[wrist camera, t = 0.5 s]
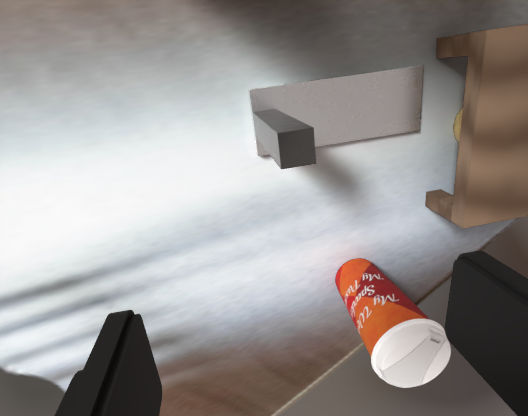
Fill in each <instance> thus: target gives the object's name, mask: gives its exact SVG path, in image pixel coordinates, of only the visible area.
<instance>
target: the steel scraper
mask: <svg viewBox="0 0 528 416" xmlns="http://www.w3.org/2000/svg"><path fill="white" fill-rule="evenodd" d="M423 72H424V65H422V66H412V67H405V68H398V69H391V70H384V71H377V72H370V73H362V74H355V75H348V76H341V77H334V78H327V79H320V80H312V81H305V82H298V83H291V84H284V85H277V86H270V87H262V88H255V89H248V92H249V99H250V106H251V114H252V121H253V129H254V136H255V144H256V151H257V155H258V156H262V155H268V154H270V155H271V157H272V158H273V159H274V161H275V162H276V163H277V165H278V166H279V167H280V168H281V169H286V168H292V167H298V166H304V165H310V164H316V155H315V147H318V146H324V145H331V144H337V143H343V142H349V141H356V140H362V139H368V138H374V137H381V136H387V135H393V134H399V133H406V132H412V131H418V130H420V120H421V104H422V88H423Z"/></svg>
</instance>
